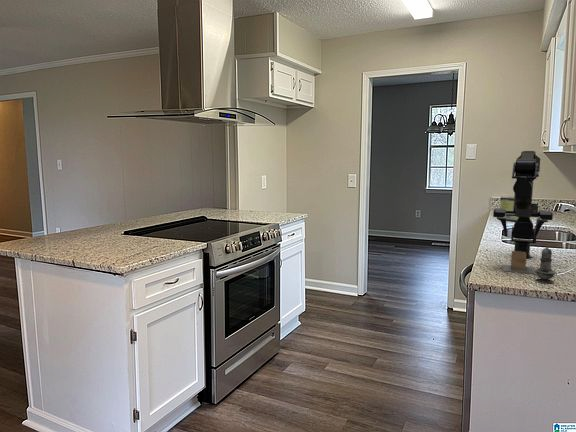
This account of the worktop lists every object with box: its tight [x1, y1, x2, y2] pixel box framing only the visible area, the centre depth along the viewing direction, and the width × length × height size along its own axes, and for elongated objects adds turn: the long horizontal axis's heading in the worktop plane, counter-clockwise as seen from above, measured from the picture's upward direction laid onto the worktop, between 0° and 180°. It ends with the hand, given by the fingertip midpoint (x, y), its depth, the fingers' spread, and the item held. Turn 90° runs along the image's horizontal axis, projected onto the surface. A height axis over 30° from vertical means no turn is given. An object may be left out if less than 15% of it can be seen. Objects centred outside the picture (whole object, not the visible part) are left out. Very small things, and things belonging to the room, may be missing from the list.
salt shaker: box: [534, 245, 556, 285], centre depth 146 cm, size 6×6×12 cm
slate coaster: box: [501, 264, 536, 275], centre depth 163 cm, size 10×10×1 cm
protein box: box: [499, 196, 519, 223], centre depth 292 cm, size 10×16×16 cm
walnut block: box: [510, 250, 527, 271], centre depth 162 cm, size 4×4×6 cm
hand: (520, 237), depth 161 cm, fingers open, 9 cm apart
